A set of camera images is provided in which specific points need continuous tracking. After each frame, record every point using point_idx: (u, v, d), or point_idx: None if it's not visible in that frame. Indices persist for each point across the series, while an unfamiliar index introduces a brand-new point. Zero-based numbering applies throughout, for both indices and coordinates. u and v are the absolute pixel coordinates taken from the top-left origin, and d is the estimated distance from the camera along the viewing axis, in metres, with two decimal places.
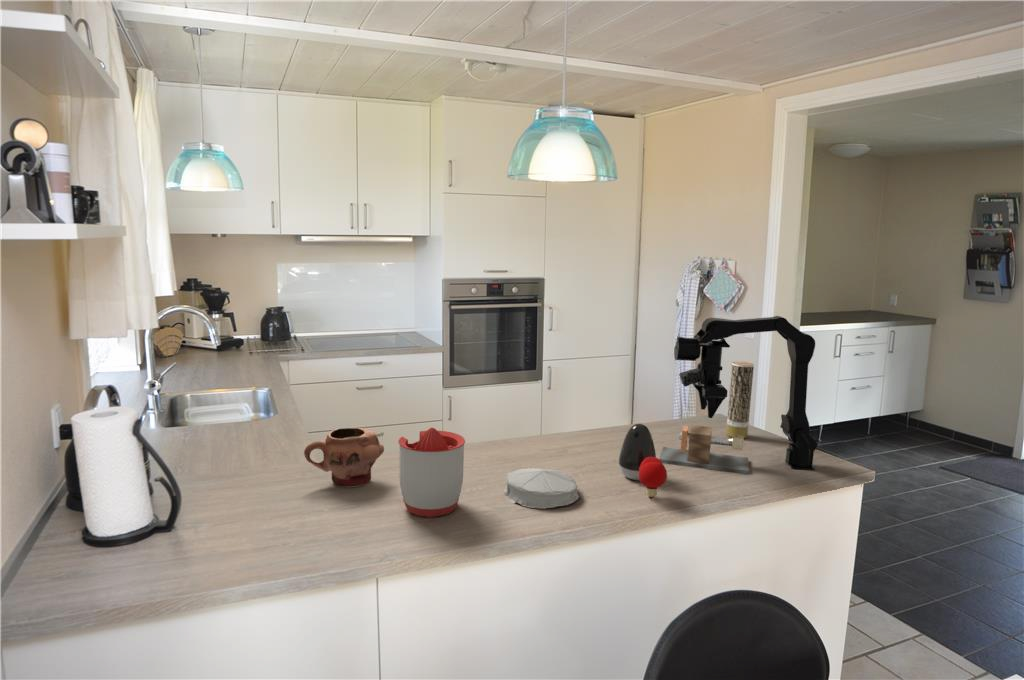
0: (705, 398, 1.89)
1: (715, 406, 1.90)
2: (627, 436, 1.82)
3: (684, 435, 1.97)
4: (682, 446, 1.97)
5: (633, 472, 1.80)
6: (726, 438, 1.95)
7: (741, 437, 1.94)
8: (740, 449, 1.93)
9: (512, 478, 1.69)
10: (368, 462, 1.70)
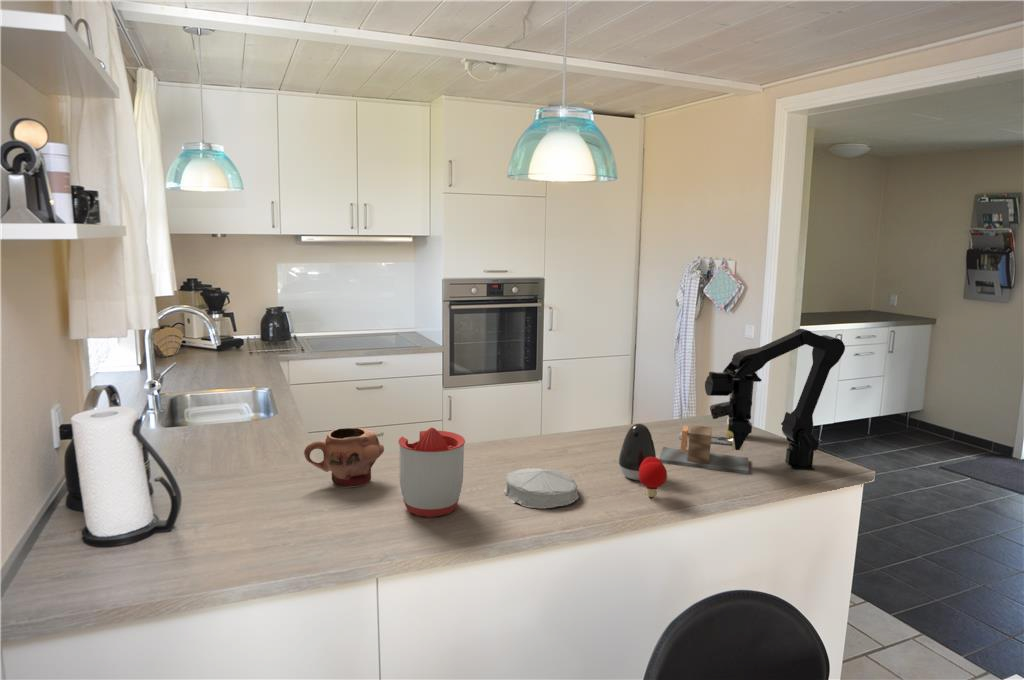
0: None
1: (741, 438, 1.91)
2: (627, 436, 1.82)
3: (684, 435, 1.97)
4: (682, 446, 1.97)
5: (633, 472, 1.80)
6: (726, 438, 1.95)
7: None
8: (740, 449, 1.93)
9: (512, 478, 1.69)
10: (368, 462, 1.70)
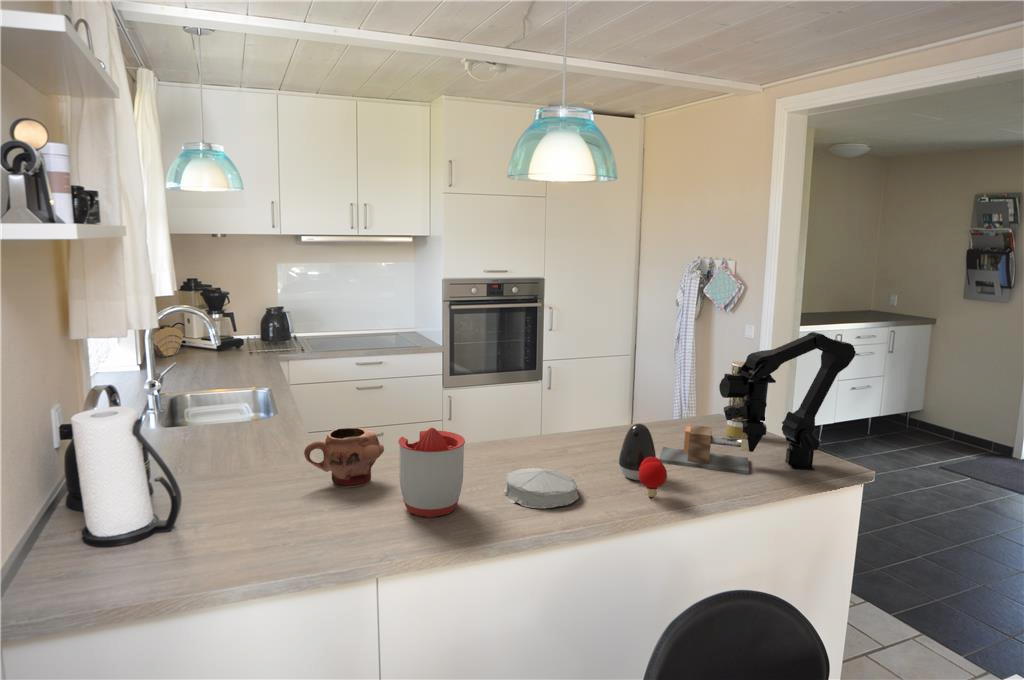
0: None
1: (755, 440, 1.90)
2: (627, 436, 1.82)
3: (687, 435, 1.96)
4: (685, 446, 1.97)
5: (633, 472, 1.80)
6: (735, 439, 1.95)
7: None
8: None
9: (512, 478, 1.69)
10: (368, 462, 1.70)
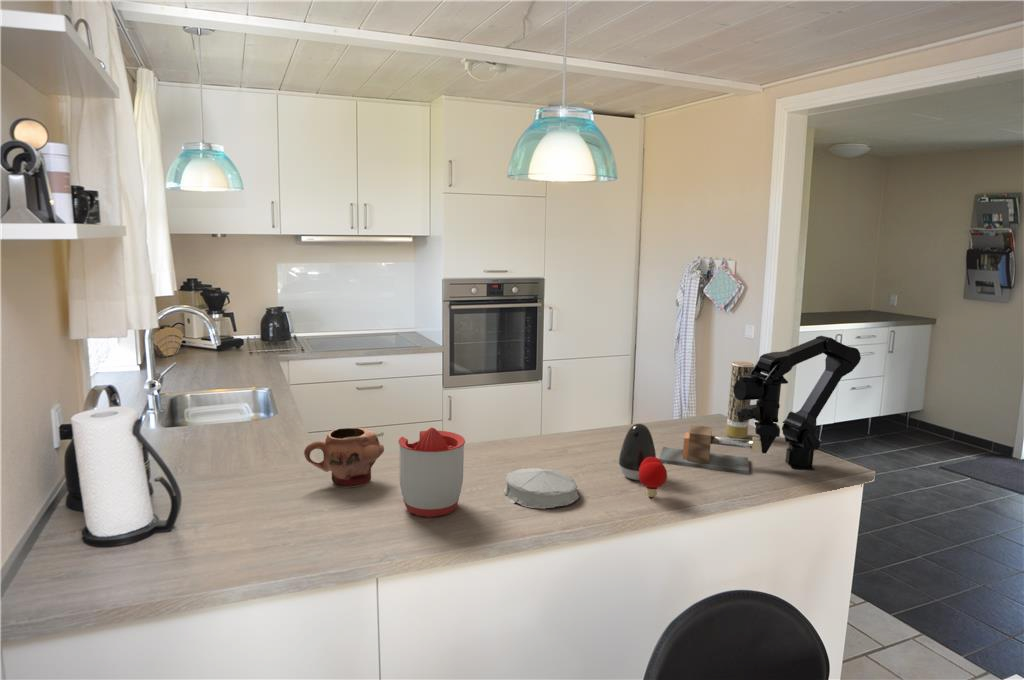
0: None
1: (768, 442, 1.89)
2: (627, 436, 1.82)
3: (686, 442, 1.97)
4: (684, 453, 1.97)
5: (633, 472, 1.80)
6: (746, 440, 1.94)
7: None
8: (760, 451, 1.92)
9: (512, 478, 1.69)
10: (368, 462, 1.70)
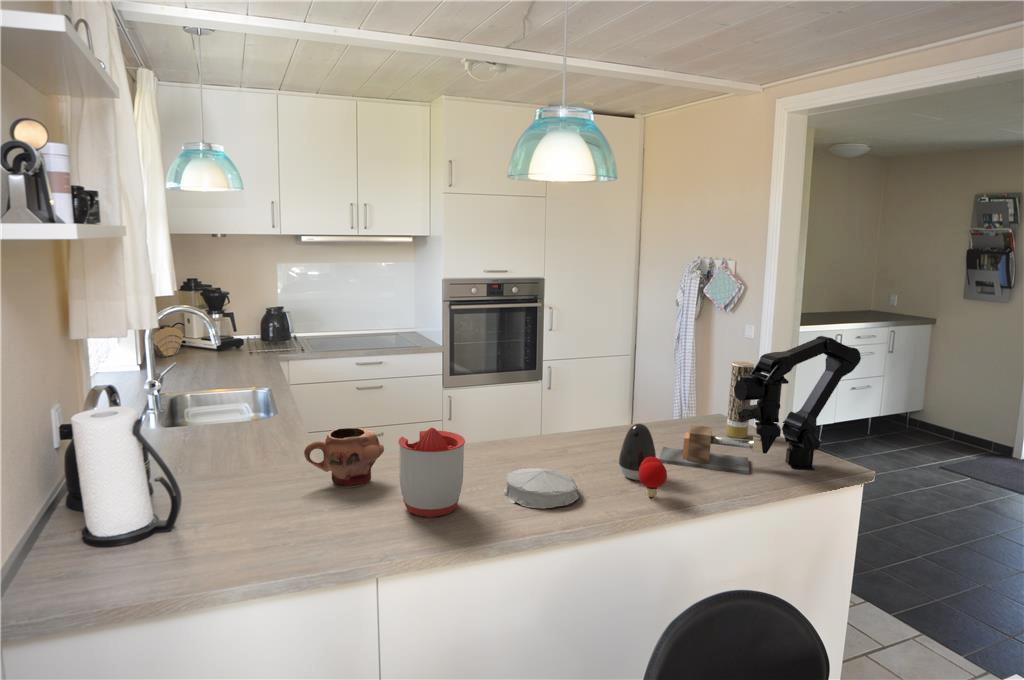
0: None
1: (769, 442, 1.89)
2: (627, 436, 1.82)
3: (686, 442, 1.97)
4: (684, 453, 1.97)
5: (633, 472, 1.80)
6: (746, 440, 1.94)
7: None
8: (761, 452, 1.92)
9: (512, 478, 1.69)
10: (368, 462, 1.70)
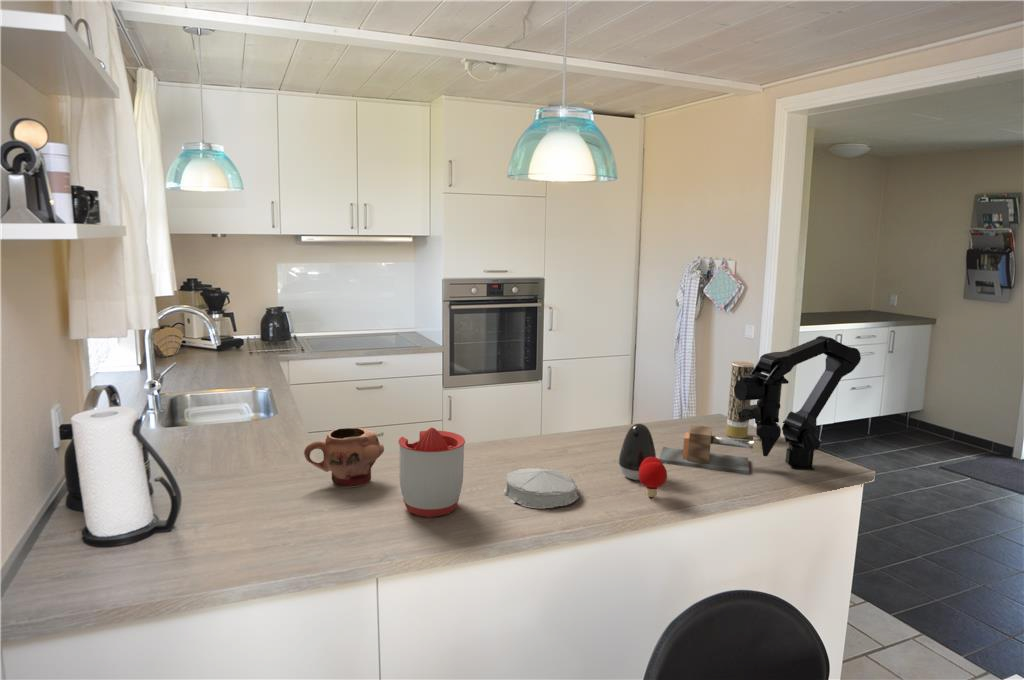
0: None
1: (770, 445, 1.87)
2: (627, 436, 1.82)
3: (686, 442, 1.97)
4: (684, 453, 1.97)
5: (633, 472, 1.80)
6: (746, 440, 1.94)
7: None
8: (761, 452, 1.92)
9: (512, 478, 1.69)
10: (368, 462, 1.70)
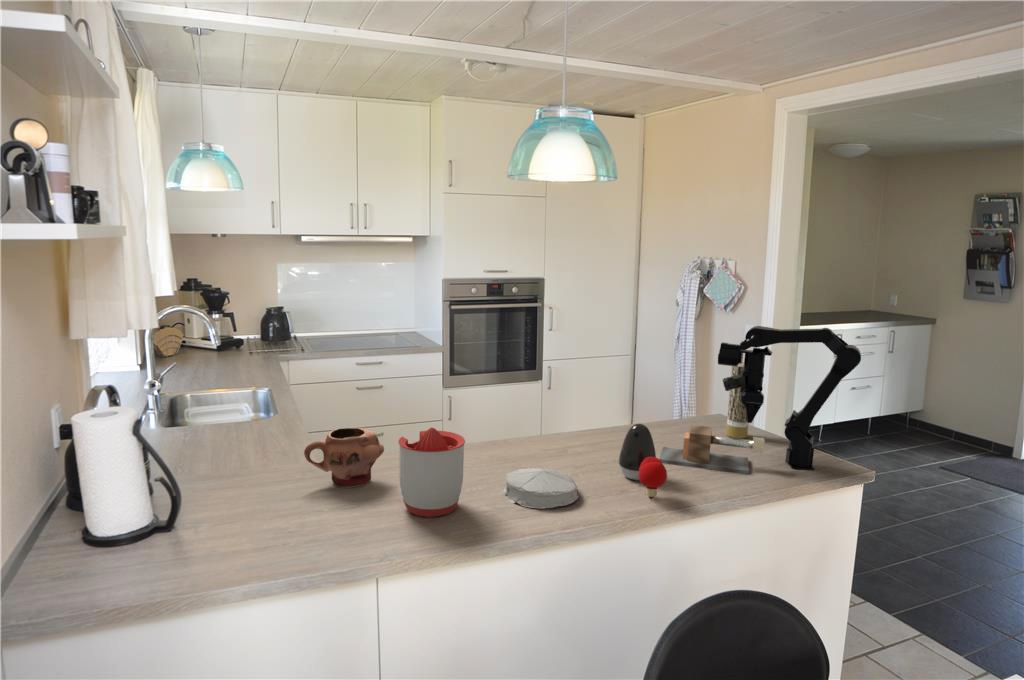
0: (743, 403, 1.96)
1: (753, 411, 1.96)
2: (627, 436, 1.82)
3: (686, 442, 1.97)
4: (684, 453, 1.97)
5: (633, 472, 1.80)
6: (746, 440, 1.94)
7: (762, 439, 1.92)
8: (761, 452, 1.92)
9: (512, 478, 1.69)
10: (368, 462, 1.70)
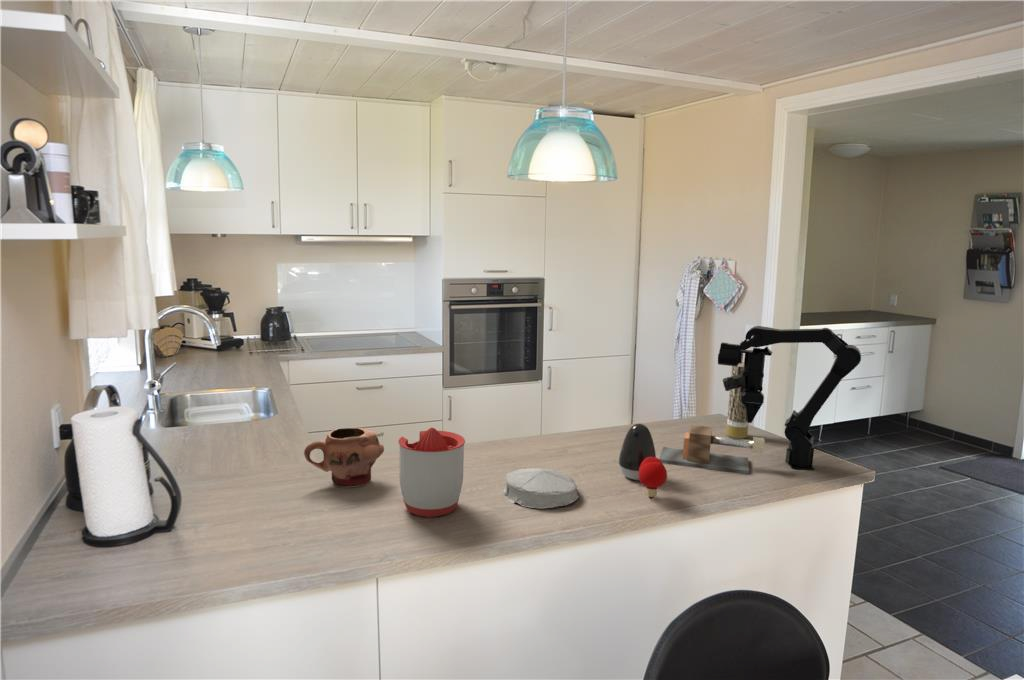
0: (743, 403, 1.96)
1: (753, 411, 1.96)
2: (627, 436, 1.82)
3: (686, 442, 1.97)
4: (684, 453, 1.97)
5: (633, 472, 1.80)
6: (746, 440, 1.94)
7: (762, 439, 1.92)
8: (761, 452, 1.92)
9: (512, 478, 1.69)
10: (368, 462, 1.70)
